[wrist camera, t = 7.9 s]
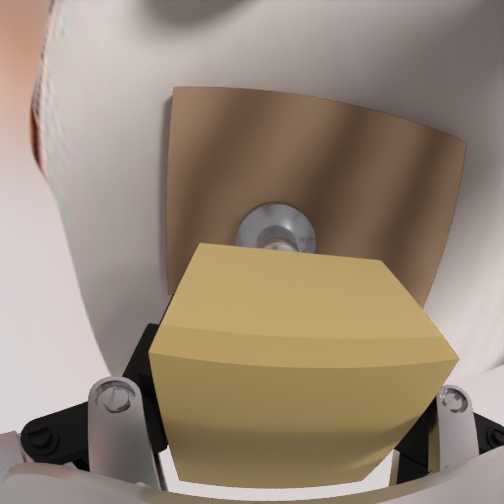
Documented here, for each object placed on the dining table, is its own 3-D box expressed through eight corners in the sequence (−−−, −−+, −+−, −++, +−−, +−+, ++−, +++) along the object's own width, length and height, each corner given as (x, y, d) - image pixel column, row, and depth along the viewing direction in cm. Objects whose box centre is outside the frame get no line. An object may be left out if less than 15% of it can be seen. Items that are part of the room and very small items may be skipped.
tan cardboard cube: (380, 260, 9) (459, 358, 4) (337, 383, 11) (361, 480, 7) (199, 242, 9) (148, 351, 4) (199, 376, 11) (179, 480, 7)
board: (457, 140, 16) (466, 142, 15) (415, 305, 21) (420, 312, 20) (178, 89, 16) (173, 86, 15) (172, 286, 21) (168, 294, 20)
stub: (318, 206, 17) (339, 232, 13) (305, 275, 19) (319, 319, 15) (240, 197, 17) (233, 221, 13) (234, 269, 19) (226, 312, 14)
